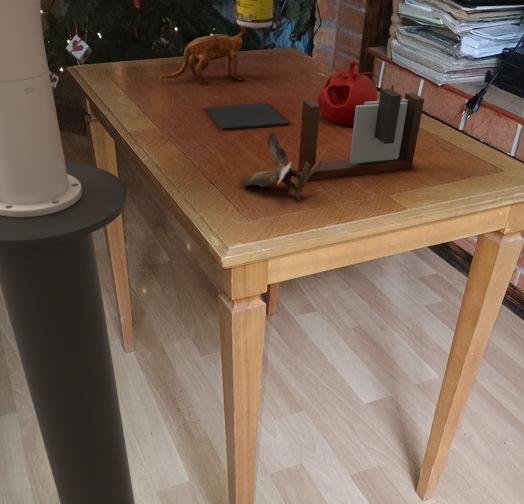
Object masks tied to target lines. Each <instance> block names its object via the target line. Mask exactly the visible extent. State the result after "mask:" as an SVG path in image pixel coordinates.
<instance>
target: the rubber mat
mask: <svg viewBox="0 0 524 504" xmlns="http://www.w3.org/2000/svg"><path fill="white" fill-rule="evenodd" d="M205 110H206V112H207V113H208V114H209V115H210V116H211V118H212V119H213V121H215V123H216V124H217V125H218V126H219V128H220V129H221V130H222V131H230V130H243V129H255V128H267V127H279V126H288V125H289V122H288V121H287V120H285V118H283V116H282V115H280V114H279V113H278V112H277V111H276V110H275V109H274V108H273V107H272V106H271V105H270V104H268V103H267V102H259V103H257V102H256V103H245V104H244V103H243V104H230V105H229V104H228V105H215V106H205Z"/></svg>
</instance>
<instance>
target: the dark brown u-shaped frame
mask: <svg viewBox="0 0 524 504" xmlns="http://www.w3.org/2000/svg"><path fill="white" fill-rule="evenodd" d="M401 102H406V103H408V104H407V110H406V116H405V122H404V128H403V134H402V140H401V146H400V152H399V158H398V159H393V160H383V161H373V162H363V163H353V164H351V163H350V162H349V161H350V158H346V159H337V160H325V161H322V162H321V164H320V166H319V167H318V168H317V169H316V171H315V172H314V173H313V174H312V175H311V176H310V178H309V179H308V180H307V182H308V181H317V180H326V179H335V178H344V177H353V176H364V175H372V174H383V173H390V172H400V171H409V170H412V169H413V165H414V164H413V163H414V158H415V152H416V147H417V141H418V135H419V130H420V125H421V120H422V114H423V109H424V103H425V98H424V97H421V96H420V95H418V94H416V93H415V92H405V95H404V98H401ZM371 104H379V100H377V101H370V102H364V105H371ZM301 108H302V111H301V123H300V124H301V125H300V140H299V155H298V168H297V172H299V173H300V172H302V173H303V169H304V166H305V163H306V161H307V162H308V163H309V164H310V166H311V169H312V168H313V167H314V165H315V164H317V163H318V162H319V161H317V160H316V159H317V147H318V137H319V125H320V114H321V112H320V106H319V104H318V103H316V102H315V101H314V100H312V99H303V100H302V107H301ZM316 161H317V162H316Z"/></svg>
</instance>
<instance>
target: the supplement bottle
mask: <svg viewBox="0 0 524 504" xmlns="http://www.w3.org/2000/svg"><path fill="white" fill-rule="evenodd" d="M236 1H237V22H236V24H237V25H238V26H239V25H241V26H244V28H251V29H261V28H262V29H263V28H269V27H271V26H273V25H272V24H273V18H274V0H236Z"/></svg>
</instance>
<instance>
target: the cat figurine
mask: <svg viewBox="0 0 524 504" xmlns="http://www.w3.org/2000/svg"><path fill="white" fill-rule="evenodd" d="M233 20H234V21H235V22H236V23H237V0H234V7H233ZM238 27H239V30H240V32H239V33H238V34H235V35H234V36H229V35H227V34H223V33H215V34H211V35H205V36H200V37H197V38H195V39H193V40H192V41H190V42H189V43H188V44H187V45H186V46H185V49H184V52H183V62H182V66H181V68H180V69H178V70H177V71H175V72H173V73H165V74H161V75H160V78H161V79H173V78H179V77H180V76H182V75H183V74H184V73H185V72H186V71H187V69H188V68H189V70H190V71H191V72H192V74H193V76H195V77H197V78H198V79H199V80H200V81H201V83H209V82H210V80H209V79H206V76H205V74H204V72H203V71H205V70H206V69H207V68H208V67H209V65H210V62H211V61H214V60H218V59H223V58H226V73H227V75H229V76H230V77H232V79H234V80H235V81H239V82H241V81H243V80H244V79H243V78H241V77H239V75H238V73H237V68H238V64H239V63H238V61H239V58H238V57H239V56H238V52H239V51H240V50H241V48H242V46H243V38H242V36H244V34H246V32H247V31H246V27H244V26H241V25H238ZM195 65H197V66H195Z"/></svg>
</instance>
